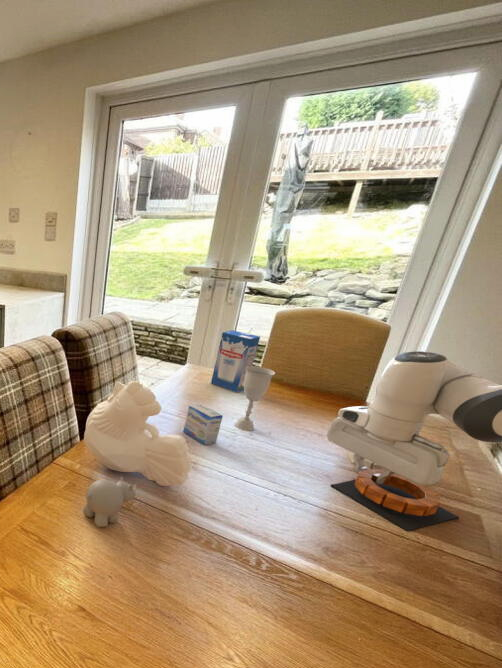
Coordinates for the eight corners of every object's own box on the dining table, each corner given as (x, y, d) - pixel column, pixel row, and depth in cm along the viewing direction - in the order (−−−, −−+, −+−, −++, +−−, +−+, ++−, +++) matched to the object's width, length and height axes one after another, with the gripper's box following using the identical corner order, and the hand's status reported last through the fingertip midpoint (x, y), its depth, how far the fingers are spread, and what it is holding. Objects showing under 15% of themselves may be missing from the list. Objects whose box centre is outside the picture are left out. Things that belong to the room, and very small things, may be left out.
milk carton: (246, 389, 144) (260, 336, 137) (236, 392, 142) (250, 339, 134) (220, 380, 152) (232, 330, 145) (210, 383, 150) (222, 332, 142)
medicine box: (182, 432, 115) (188, 405, 111) (194, 429, 116) (200, 403, 113) (204, 445, 108) (211, 417, 104) (216, 442, 109) (223, 414, 106)
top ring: (450, 510, 82) (456, 500, 81) (407, 520, 79) (412, 510, 78) (381, 474, 93) (385, 465, 92) (340, 482, 90) (344, 473, 89)
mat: (458, 518, 82) (459, 516, 81) (407, 531, 78) (408, 530, 78) (377, 476, 95) (377, 474, 95) (330, 486, 91) (330, 484, 91)
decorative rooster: (67, 425, 104) (99, 379, 82) (116, 405, 109) (158, 357, 87) (119, 515, 94) (170, 490, 72) (170, 489, 98) (233, 458, 77)
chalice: (264, 429, 116) (281, 373, 109) (247, 434, 114) (264, 376, 107) (241, 419, 122) (256, 364, 116) (225, 422, 120) (239, 367, 113)
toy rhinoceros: (145, 517, 81) (152, 483, 78) (98, 534, 77) (103, 498, 74) (121, 496, 88) (127, 464, 84) (77, 511, 83) (80, 477, 80)
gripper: (464, 447, 77) (434, 504, 82) (352, 403, 95) (333, 452, 100) (442, 451, 75) (412, 509, 80) (332, 406, 93) (314, 456, 99)
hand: (367, 477), depth 90 cm, fingers closed on top ring, 2 cm apart
